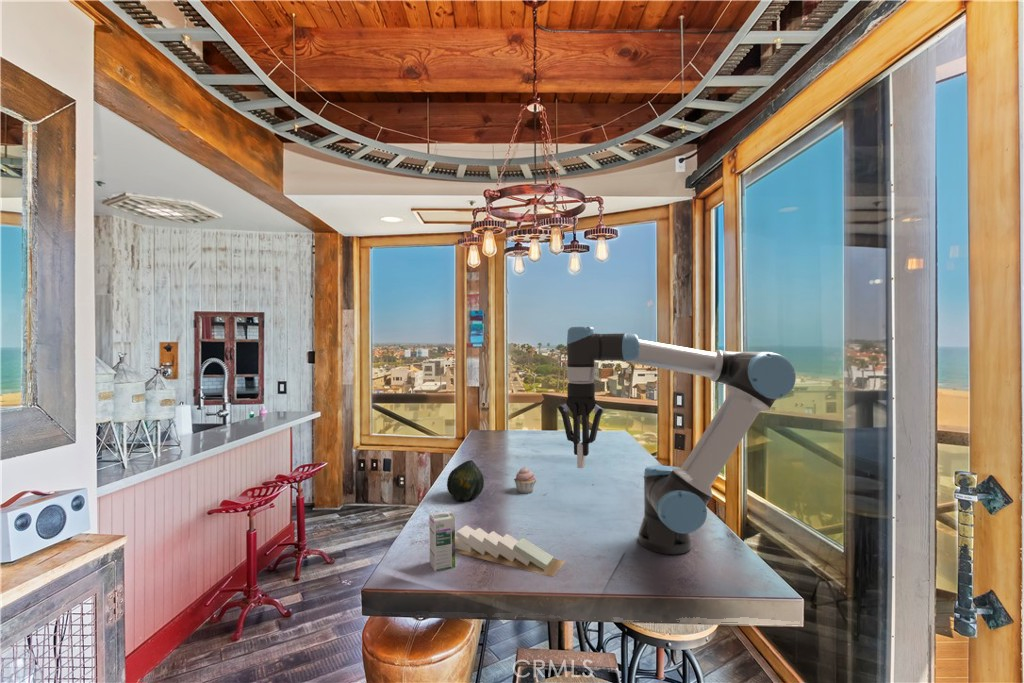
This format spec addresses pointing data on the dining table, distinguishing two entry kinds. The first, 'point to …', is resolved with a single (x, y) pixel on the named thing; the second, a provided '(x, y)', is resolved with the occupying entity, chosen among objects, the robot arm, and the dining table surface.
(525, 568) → the board
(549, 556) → the domino
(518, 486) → the cupcake
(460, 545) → the domino
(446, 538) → the syrup box
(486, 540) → the domino
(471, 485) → the squash
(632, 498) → the dining table surface
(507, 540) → the domino
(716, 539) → the dining table surface
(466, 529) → the domino
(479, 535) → the domino
